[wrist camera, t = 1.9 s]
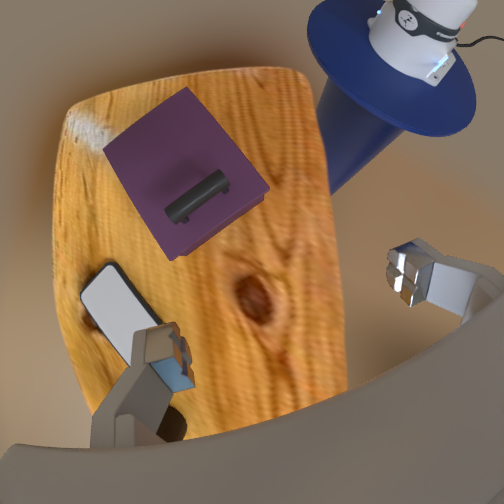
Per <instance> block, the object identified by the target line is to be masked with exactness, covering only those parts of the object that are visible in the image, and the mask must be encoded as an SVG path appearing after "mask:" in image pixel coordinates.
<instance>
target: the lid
mask: <svg viewBox="0 0 504 504" xmlns="http://www.w3.org/2000/svg"><path fill="white" fill-rule="evenodd" d="M103 151H104V153H105V155H106V157H107V159H108V161H109V162H110V164H111V166H112V168H113V170H114V171H115V173H116V175H117V177H118V178H119V180H120V182H121V184H122V185H123V187H124V189H125V190H126V192H127V194H128V196H129V197H130V199H131V201H132V202H133V204H134V206H135V207H136V209H137V211H138V212H139V214H140V215H141V217H142V219H143V220H144V222H145V224H146V225H147V227H148V228H149V230H150V232H151V233H152V235H153V236H154V238H155V239H156V241H157V242H158V244H159V246H160V247H161V249H162V250H163V252H164V253H165V255H166V256H167V258H168V259H169V261H173V260H174V259H176V258H177V257H178V256H180V255H181V254H182V253H184V252H185V251H186V250H188V249H189V248H190V247H192V246H193V245H194V244H196V243H197V242H198V241H200V240H201V239H202V238H204V237H205V236H206V235H208V234H209V233H210V232H212V231H213V230H215V229H216V228H217V227H219V226H220V225H221V224H223V223H224V222H225V221H227V220H228V219H230V218H231V217H232V216H234V215H235V214H237V213H238V212H239V211H241V210H242V209H244V208H245V207H246V206H248V205H249V204H251V203H252V202H253V201H255V200H256V199H258V198H259V197H261V196H262V195H263V194H265V193H266V192H268V191H269V190H270V187H269V186H268V185H267V183H266V182H265V181H264V180H263V178H262V177H261V176H260V174H259V173H258V172H257V171H256V169H255V168H254V167H253V165H252V164H251V163H250V162H249V160H248V159H247V158H246V157H245V155H244V154H243V153H242V152H241V150H240V149H239V148H238V147H237V145H236V144H235V143H234V142H233V140H232V139H231V138H230V137H229V136H228V134H227V133H226V132H225V131H224V129H223V128H222V127H221V126H220V125H219V123H218V122H217V121H216V120H215V119H214V117H213V116H212V115H211V114H210V113H209V112H208V110H207V109H206V108H205V107H204V106H203V104H202V103H201V102H200V101H199V100H198V99H197V98H196V96H195V95H194V94H193V93H192V92H191V91H190V90H189V88H188V87H185V88H184V89H182V90H181V91H179V92H177V93H176V94H174V95H173V96H171V97H170V98H168V99H167V100H165V101H164V102H163V103H161V104H160V105H158V106H157V107H155V108H154V109H153V110H151V111H150V112H148V113H147V114H146V115H144V116H143V117H142V118H140V119H139V120H138V121H136V122H135V123H134V124H132V125H131V126H130V127H129V128H127V129H126V130H125V131H124V132H122V133H121V134H120V135H119V136H117V137H116V138H115V139H114V140H113V141H112V142H110V143H109V144H108V145H107V146H106V147H105V148H103Z"/></svg>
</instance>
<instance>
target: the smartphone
mask: <svg viewBox="0 0 504 504" xmlns="http://www.w3.org/2000/svg"><path fill="white" fill-rule="evenodd" d="M80 300H81V302H82V304H83V305H84V307H85V308H86V310H87V311H88V313H89V314H90V316H91V317H92V319H93V320H94V321H95V323H96V324H97V326H98V327H99V329H100V330H101V331H102V333H103V334H104V335H105V337H106V338H107V339H108V341H109V342H110V343H111V345H112V346H113V347H114V349H115V350H116V351H117V352H118V354H119V355H120V356H121V358H122V359H123V360H124V361H125V362H126V364H127V365H128V366H129V367H130V362H131V351H132V341H133V334H134V332H135V331H138V330H142V329H147V328H149V327H154V326H158V325H162V324H163V323H162V321H161V320H160V319H159V318H158V317H157V315H156V314H155V313H154V311H153V310H152V309H151V308H150V306H149V305H148V304H147V303H146V301H145V300H144V299H143V297H142V296H141V295H140V293H139V292H138V291H137V289H136V288H135V287H134V285H133V284H132V283H131V281H130V280H129V279H128V277H127V276H126V274H125V273H124V272H123V270H122V269H121V267H120V266H119V265H118V264H117V263H115V262H108V263H106V264H105V265H104V266H103V267H102V268H101V269H100V271H99V272H98V273H97V274H96V275H95V276H94V277H93V278H92V279H91V280H90V281H89V283H88V284H87V285H86V286H85V287H84V288H83V289H82V291H81V292H80Z"/></svg>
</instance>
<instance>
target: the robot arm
mask: <svg viewBox="0 0 504 504" xmlns="http://www.w3.org/2000/svg"><path fill="white" fill-rule="evenodd" d="M477 3H478V0H393V1H386V2H385V3H384V5H383V6H382V8H381V10H380V11H378V12H377V13H378V15H377V16H376V18H369V19H368V21H367V24H368V26H369V28H370V32H369V40H370V43H371V45H372V47H373V49H374V50H375V51H376V53H377V54H378V55H379V56H380V57H381V58H382V59H383V60H384V61H385V62H386V63H388V64H389V65H390V66H392V67H393V68H395V69H396V70H398V71H400V72H402V73H404V74H406V75H408V76H411V77H414V78H418V79H421V80H423V81H425V82H426V83H428V84H430V85H432V86H437V85H438V83H439V82H440V81H441V80H442V78H443V77H444V76H445V74H446V73H447V72H448V71H449V69H450V68H451V67H452V65H453V64H454V63H455V61H456V59H455V57H454V55H453V53H452V52H451V51H452V49H453V48H454V47H455V46H457V47H472V46H474V45H475V44H477V43H478V42H480V41H482V40H484V39H489V38H494V39H499V40H502V41H504V39H502V38H499V37H495V36H486V37H482V38H480V39H478V40H476V41H474V42H473V43H471V44H457V41H458V40H457V38H456V36H457V35H458V34H459V31H460V29H461V28H462V27H463V26H464V25H465V23H464V21H465V20H466V19H467V17H468V16H469V15H470V14H471V12H472V11H473V10H474V9H475V8H476V6H477ZM387 259H388V260H389V262H390V263H389V265H388V267H387V269H386V277H387V281H388V283H389V285H390V287H392V289H393V290H395V291H398V292H400V295H401V298H402V299H403V300H404V301H405V302H406V303H407V304H408V305H409V306H410V307H411V306H413V305H416V304H417V303H420V302H422V301H424V300H426V301H429V302H431V303H433V304H435V305H437V306H440V307H442V308H444V309H446V310H448V311H451V312H453V313H455V314H457V315H460V316H462V317H463V318H462V321H461V323H460V326H459V327H458V328H456V329H455V330H454V331H452V332H451V333H449V334H448V335H446V336H445V337H443V338H442V339H440V340H439V341H437V342H436V343H434V344H433V345H431V346H429V347H428V348H427V349H425V350H423V351H421V352H420V353H418V354H416V355H415V356H413V357H411V358H410V359H408V360H406V361H405V362H403V363H401V364H399V365H397V366H396V367H394V368H392V369H390V370H388V371H386V372H384V373H382V374H380V375H379V376H376V377H374V378H373V379H371V380H368V381H366V382H364V383H362V384H360V385H358V386H356V387H354V388H352V389H349V390H347V391H345V392H343V393H340V394H338V395H336V396H333V397H331V398H329V399H326V400H324V401H321V402H319V403H316V404H314V405H311V406H308V407H306V408H303V409H300V410H298V411H295V412H292V413H289V414H286V415H283V416H280V417H277V418H274V419H271V420H267V421H264V422H261V423H257V424H254V425H250V426H247V427H243V428H239V429H235V430H231V431H227V432H223V433H218V434H214V435H209V436H204V437H199V438H194V439H189V440H183V441H176V442H170V443H167V442H165V441H164V440H163V439H161V438H160V437H159V436H157V435H156V432H157V430H158V428H159V425H160V423H161V421H162V419H163V416H164V414H165V412H166V410H167V407H168V405H169V403H170V401H171V399H172V396H173V393H175V392H179V391H183V390H187V389H191V388H195V380H194V372H193V370H192V369H191V367H190V365H191V363H192V356H191V352H190V348H189V346H188V343H187V341H186V339H185V338H184V337H182V336H180V329H179V327H178V325H177V324H176V322H170V323H166V324H162V325H158V326H154V327H149V328H147V329H142V330H138V331H135V332H134V334H133V341H132V351H131V362H130V367H129V368H126V369H125V371H124V372H123V374H122V375H121V376H120V378H119V379H118V381H117V382H116V383H115V385H114V386H113V388H112V389H111V390H110V392H109V393H108V395H107V396H106V398H105V399H104V400H103V402H102V403H101V405H100V406H99V408H98V409H97V410H96V412H95V413H94V415H93V416H92V425H91V439H90V448H88V449H87V448H86V449H83V448H56V447H55V448H54V447H42V446H33V445H26V444H14V445H12V446H11V447H10V448H9V449H8V450H7V451H6V453H5V454H4V455H3V456H2V458H1V459H0V504H504V275H503V274H501V273H500V272H499V271H498V270H496V269H495V268H494V267H490V266H487V265H483V264H479V263H476V262H472V261H468V260H464V259H460V258H456V257H452V256H444V255H443V254H441V253H440V252H439V251H437V250H436V249H434V248H433V247H432V246H431V245H429V244H428V243H427V242H425V241H424V240H422V239H420V238H416V239H414V240H412V241H409V242H408V243H405V244H403V245H400V246H398V247H395V248H393V249H390V250H389V252H388V257H387Z"/></svg>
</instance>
